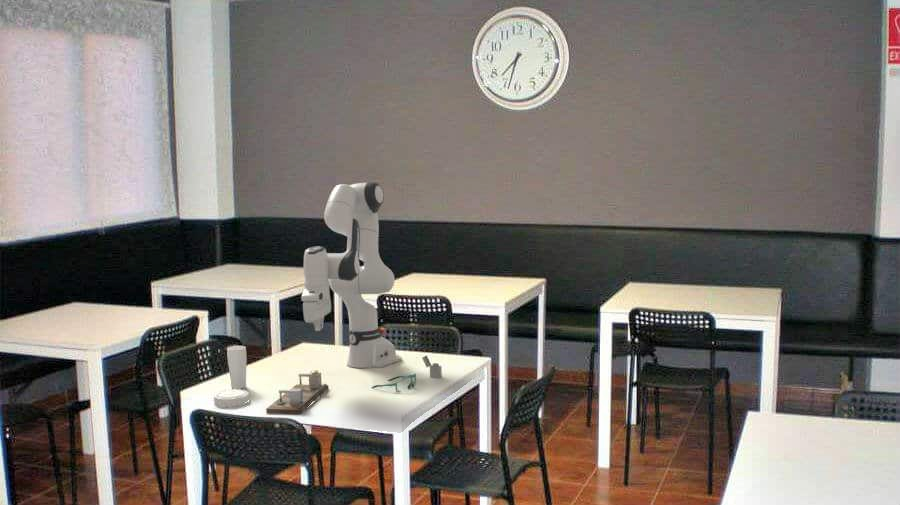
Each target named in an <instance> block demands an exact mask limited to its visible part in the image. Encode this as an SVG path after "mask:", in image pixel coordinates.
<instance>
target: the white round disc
mask: <svg viewBox="0 0 900 505" xmlns="http://www.w3.org/2000/svg"><path fill="white" fill-rule="evenodd" d="M248 400H249V401H250V392H249V391H248V390H244V389H233V388H232V389H224V390H222V391H219V392H217V393H215V394H214V395H213V401H214V402H213V404H214V405H215V406H216V407H220V408H235V407H240V406H244V405H246V404H245V402H247V401H248Z"/></svg>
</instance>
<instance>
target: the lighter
mask: <svg viewBox="0 0 900 505" xmlns="http://www.w3.org/2000/svg"><path fill="white" fill-rule="evenodd" d="M421 359H422V361H423V362H424V364H425V367H426V368H429V378H430V379H431V378H433V379H442V376H443V374H442V373H443V372H442V371H443V370H442V368H443V367H442V365H440V364H439V363H437V362H433V363H432V364H431V361H430V358H429V357H428V355H424V356H422V358H421Z"/></svg>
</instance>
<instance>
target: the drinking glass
mask: <svg viewBox="0 0 900 505" xmlns="http://www.w3.org/2000/svg"><path fill="white" fill-rule="evenodd" d="M246 348H247V347H246V346H244V345H232V346H229V347H227V348H226V351H227V352H226V357H227V365H228V371H229V377H230V386H231V388H232V389H233V388H235V389H240V388H243V389H245V388H247V360H248V359H247V349H246Z"/></svg>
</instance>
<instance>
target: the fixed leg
mask: <svg viewBox="0 0 900 505" xmlns="http://www.w3.org/2000/svg"><path fill="white" fill-rule="evenodd" d="M327 385H328V384H327V383H322V386H321V387H320V388H318V389H317V390H316V391H315V392H314V393H313V394H311V395H310V396H309V397H308V398H307V399H306V400H305V401H303V390H302V389H292V388H290V389H291V390H290V389H279V390H278V393H279V398H280V402H282V396H283V394H285V393H289V396H290V405H294V406H298V409H301V408H302V407H303V406H305V405H306V404H307V403H308V402H309V401H310V400H311V399H312V398H314V397H315V396H316V395H317V394H318V393H319V392H320V391H321V390H323V389H324V388H325V387H326V386H327Z"/></svg>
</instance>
